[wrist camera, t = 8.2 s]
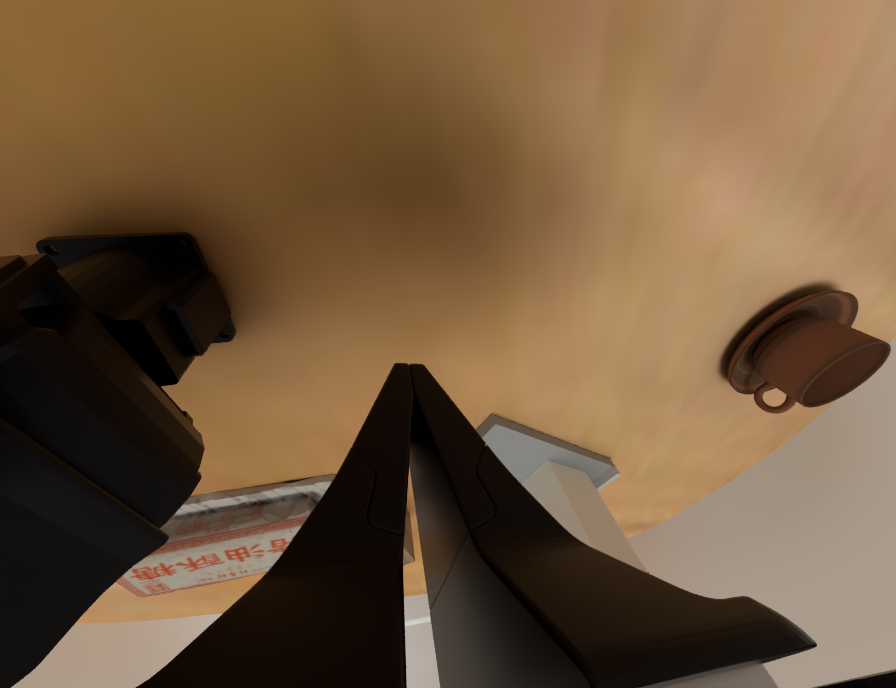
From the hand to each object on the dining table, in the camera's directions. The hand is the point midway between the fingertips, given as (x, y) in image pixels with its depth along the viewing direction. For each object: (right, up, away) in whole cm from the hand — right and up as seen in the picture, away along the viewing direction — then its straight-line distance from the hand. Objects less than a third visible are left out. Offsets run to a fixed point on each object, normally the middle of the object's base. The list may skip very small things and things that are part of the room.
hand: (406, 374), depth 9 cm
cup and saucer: (+34, +2, +23) cm, 41 cm away
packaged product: (-18, -16, +22) cm, 33 cm away
